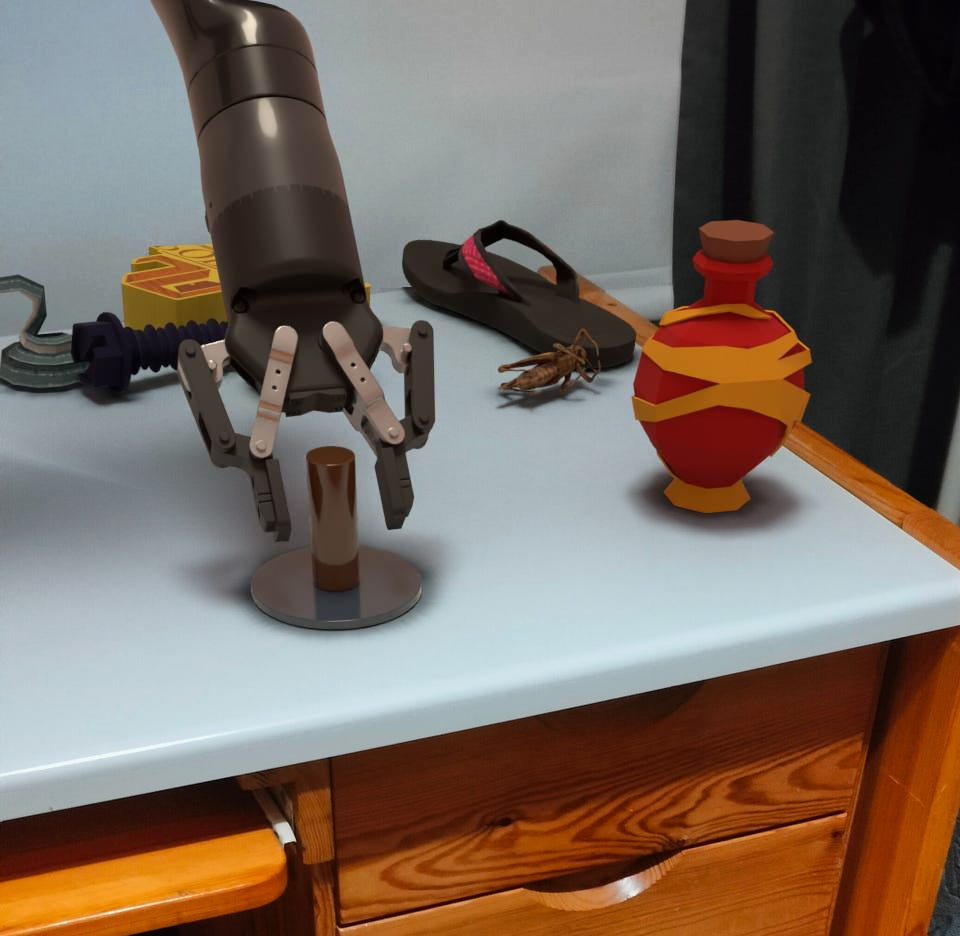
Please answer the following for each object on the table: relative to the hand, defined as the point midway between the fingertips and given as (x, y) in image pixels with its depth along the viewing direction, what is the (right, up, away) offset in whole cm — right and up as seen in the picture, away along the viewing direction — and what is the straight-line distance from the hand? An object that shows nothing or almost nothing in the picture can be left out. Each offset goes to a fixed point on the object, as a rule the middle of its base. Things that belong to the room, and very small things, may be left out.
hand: (341, 529), depth 86 cm
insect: (+14, +19, +24) cm, 33 cm away
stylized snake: (-21, +21, +29) cm, 41 cm away
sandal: (+10, +29, +38) cm, 49 cm away
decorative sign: (-8, +33, +40) cm, 53 cm away
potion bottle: (+21, +7, +14) cm, 27 cm away
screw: (-11, +20, +28) cm, 36 cm away
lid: (-1, -2, +4) cm, 5 cm away
